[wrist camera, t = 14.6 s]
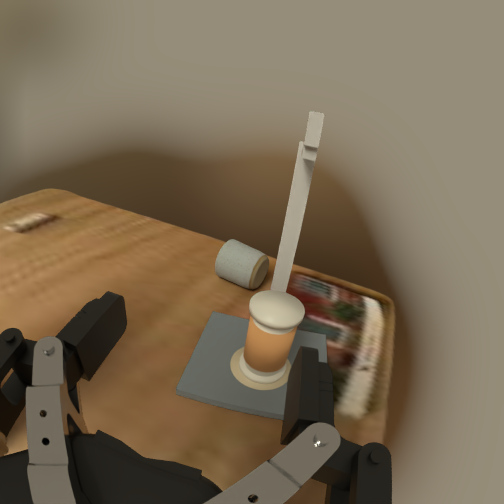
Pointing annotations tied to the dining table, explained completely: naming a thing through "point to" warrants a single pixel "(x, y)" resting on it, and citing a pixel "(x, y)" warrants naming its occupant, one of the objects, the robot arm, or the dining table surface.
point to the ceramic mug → (241, 264)
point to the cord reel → (270, 335)
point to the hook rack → (235, 329)
